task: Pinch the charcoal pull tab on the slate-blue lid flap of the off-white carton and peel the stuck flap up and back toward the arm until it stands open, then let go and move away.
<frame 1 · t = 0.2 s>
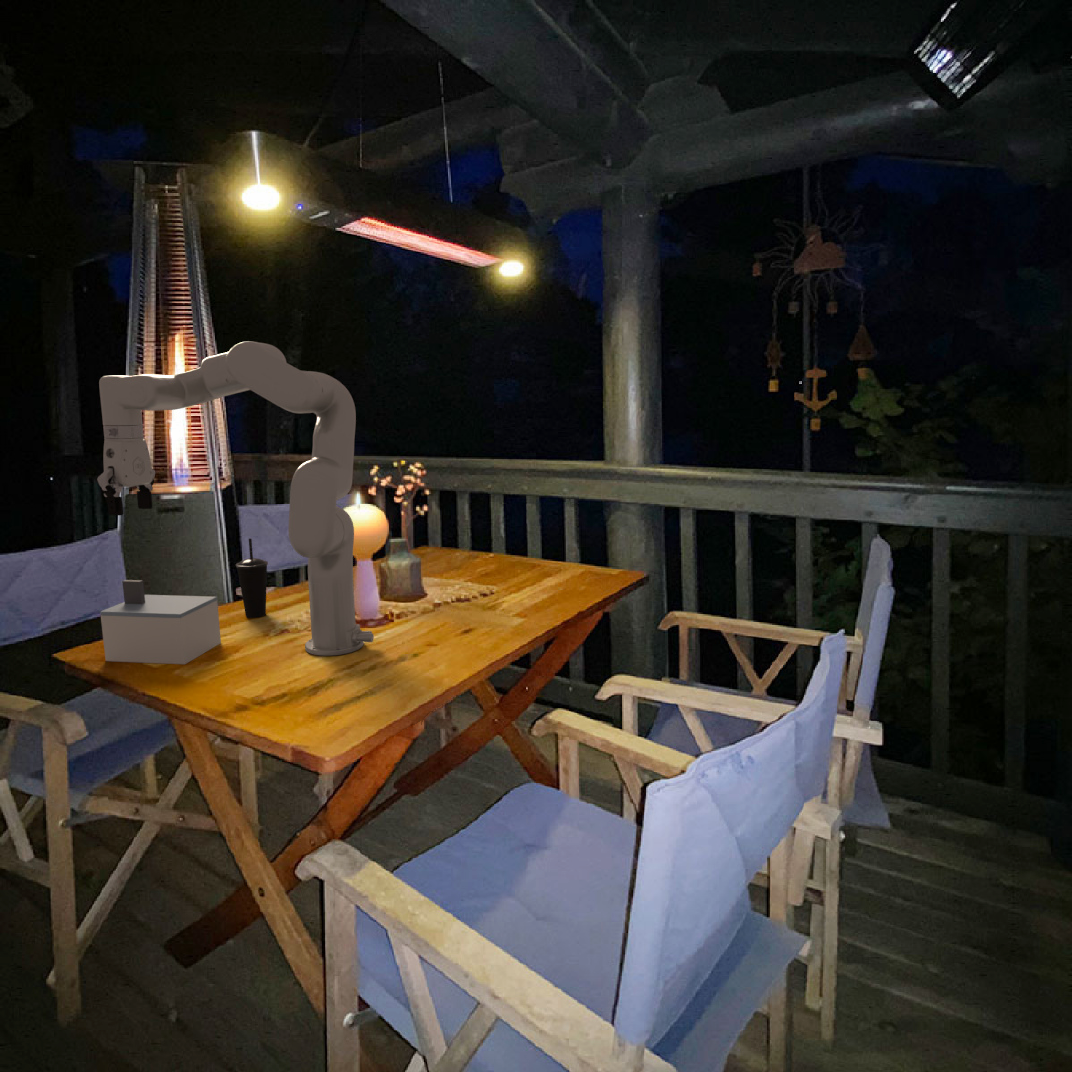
hand: (131, 511, 166), 30 cm above the table, tool pointing down, fingers open, 9 cm apart
drinking cup: (255, 616, 192), on the table
lid flap: (159, 594, 162), point 13 cm above the table, hinge at 0.0°
carton: (165, 651, 164), on the table
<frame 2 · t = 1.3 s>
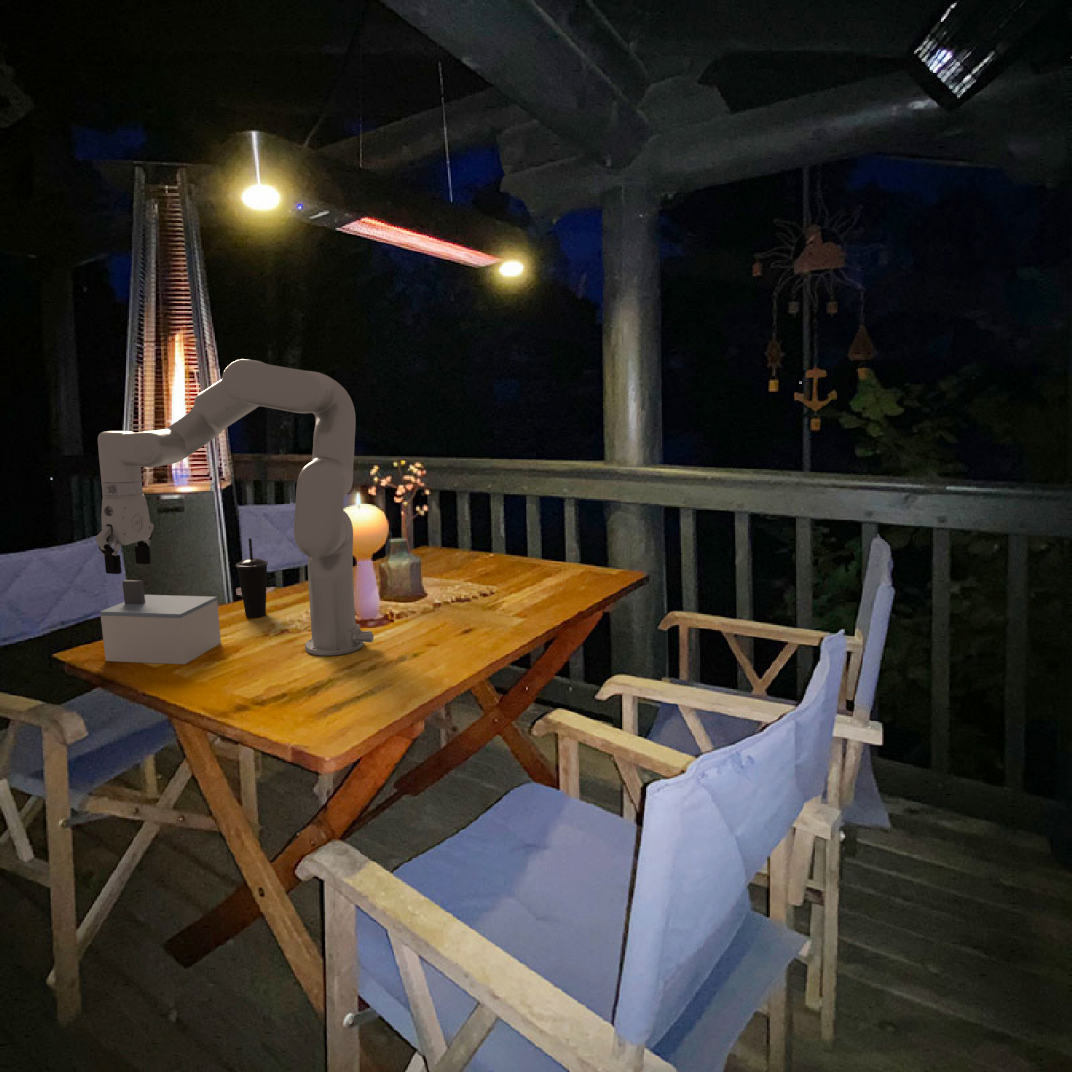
hand: (129, 568, 162), 19 cm above the table, tool pointing down, fingers open, 9 cm apart
nothing on the table moved.
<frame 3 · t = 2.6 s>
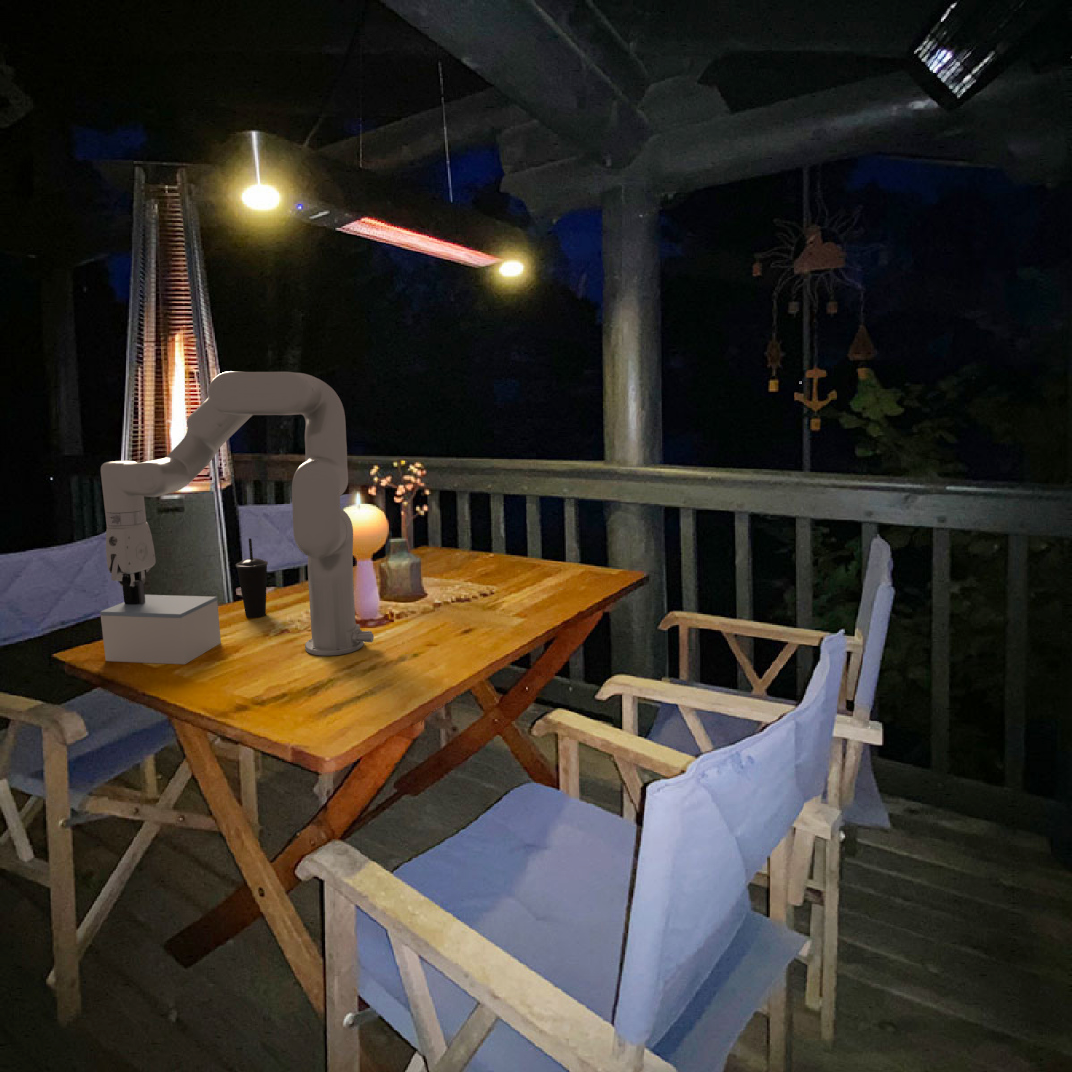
hand: (134, 601, 163), 11 cm above the table, tool pointing down, fingers closed
lid flap: (159, 594, 162), point 13 cm above the table, hinge at 0.0°, touching gripper
everything else where it was.
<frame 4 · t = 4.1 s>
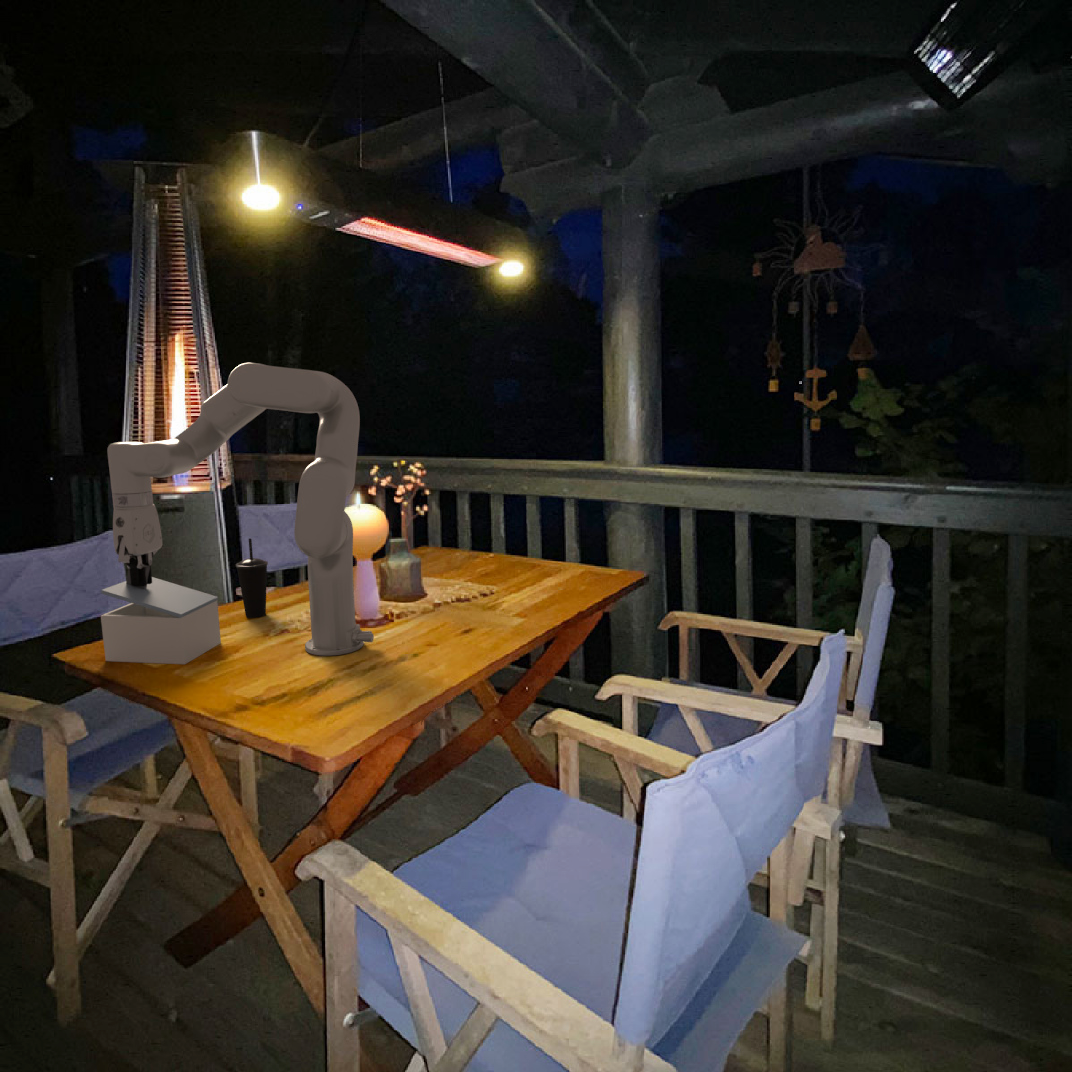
hand: (141, 584, 162), 15 cm above the table, tool pointing down, fingers closed
lid flap: (163, 584, 162), point 15 cm above the table, hinge at 15.3°, touching gripper
everything else where it was.
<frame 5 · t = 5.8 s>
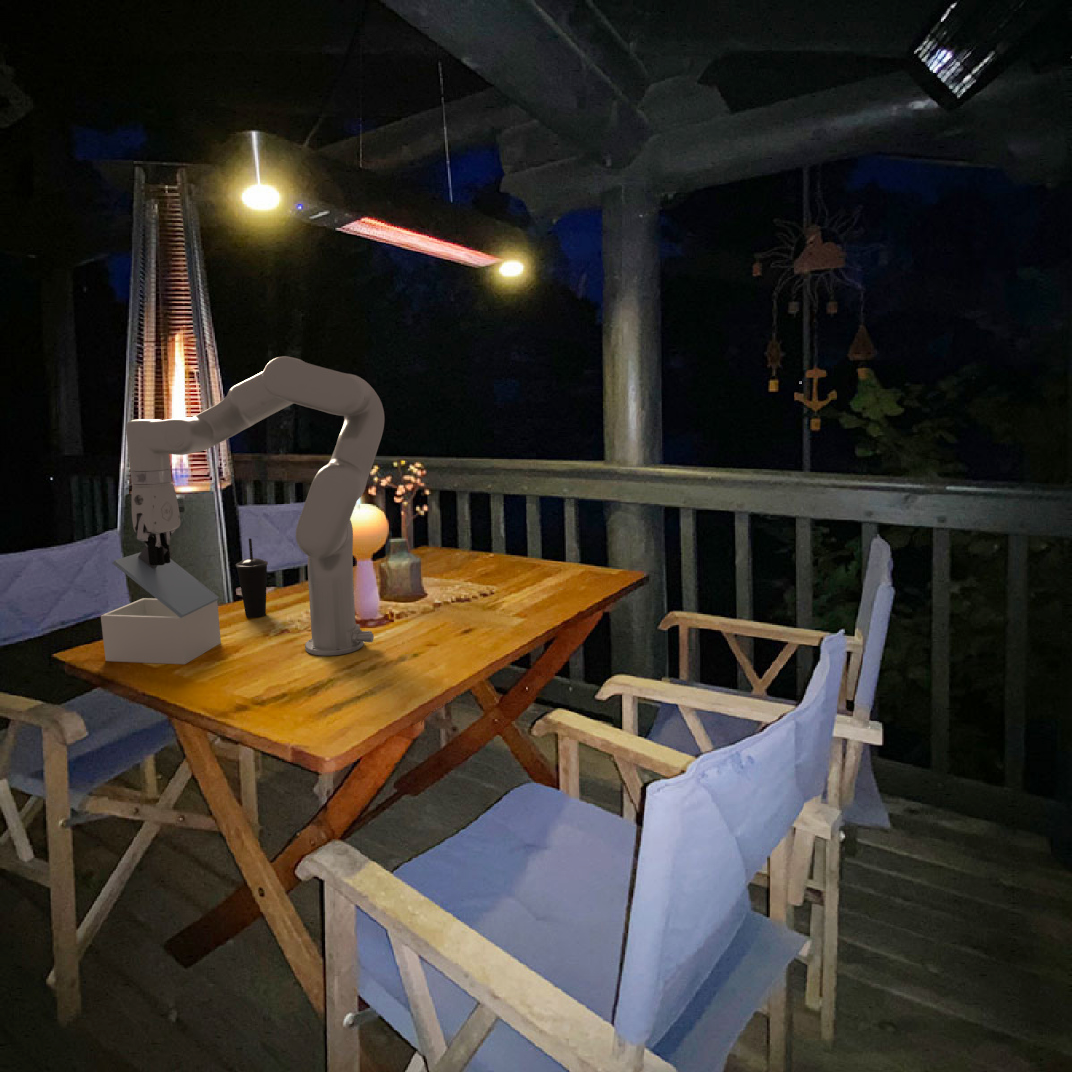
hand: (160, 563, 161), 20 cm above the table, tool pointing down, fingers closed
lid flap: (173, 572, 161), point 18 cm above the table, hinge at 38.7°, touching gripper
everything else where it was.
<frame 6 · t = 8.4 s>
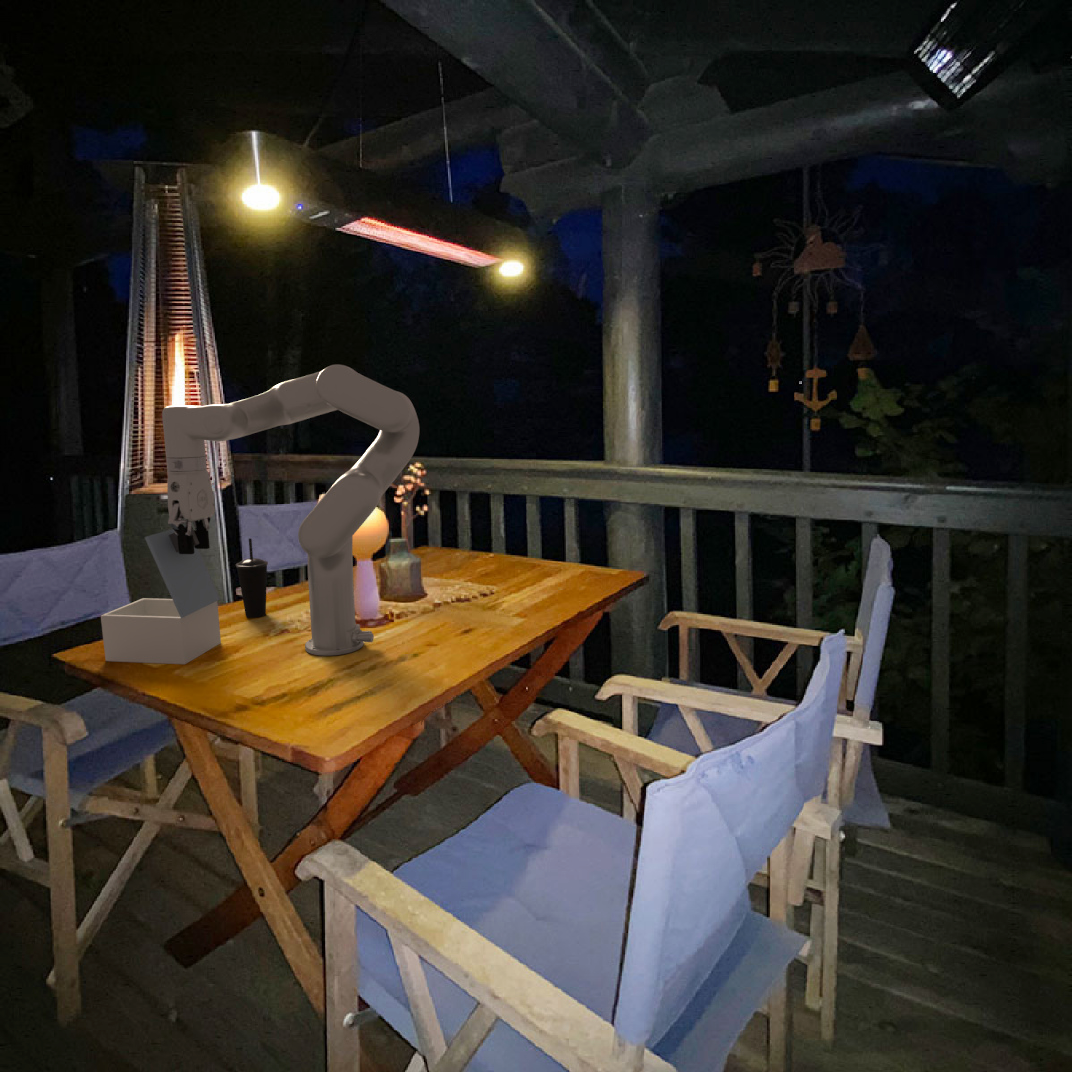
hand: (194, 550, 159), 23 cm above the table, tool pointing down, fingers open, 4 cm apart
lid flap: (194, 566, 160), point 19 cm above the table, hinge at 69.4°
everything else where it was.
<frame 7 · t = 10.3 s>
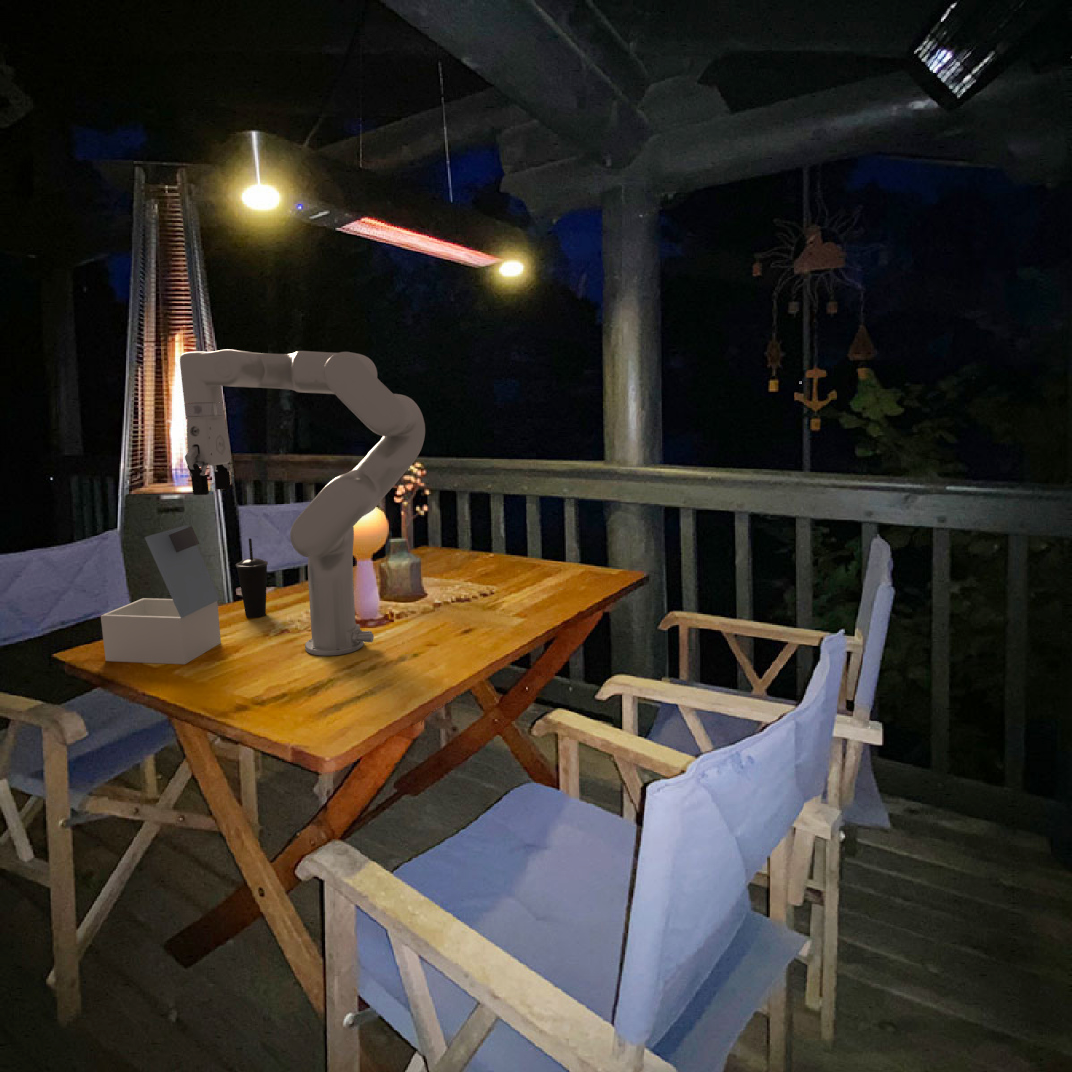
hand: (212, 491, 162), 35 cm above the table, tool pointing down, fingers open, 9 cm apart
nothing on the table moved.
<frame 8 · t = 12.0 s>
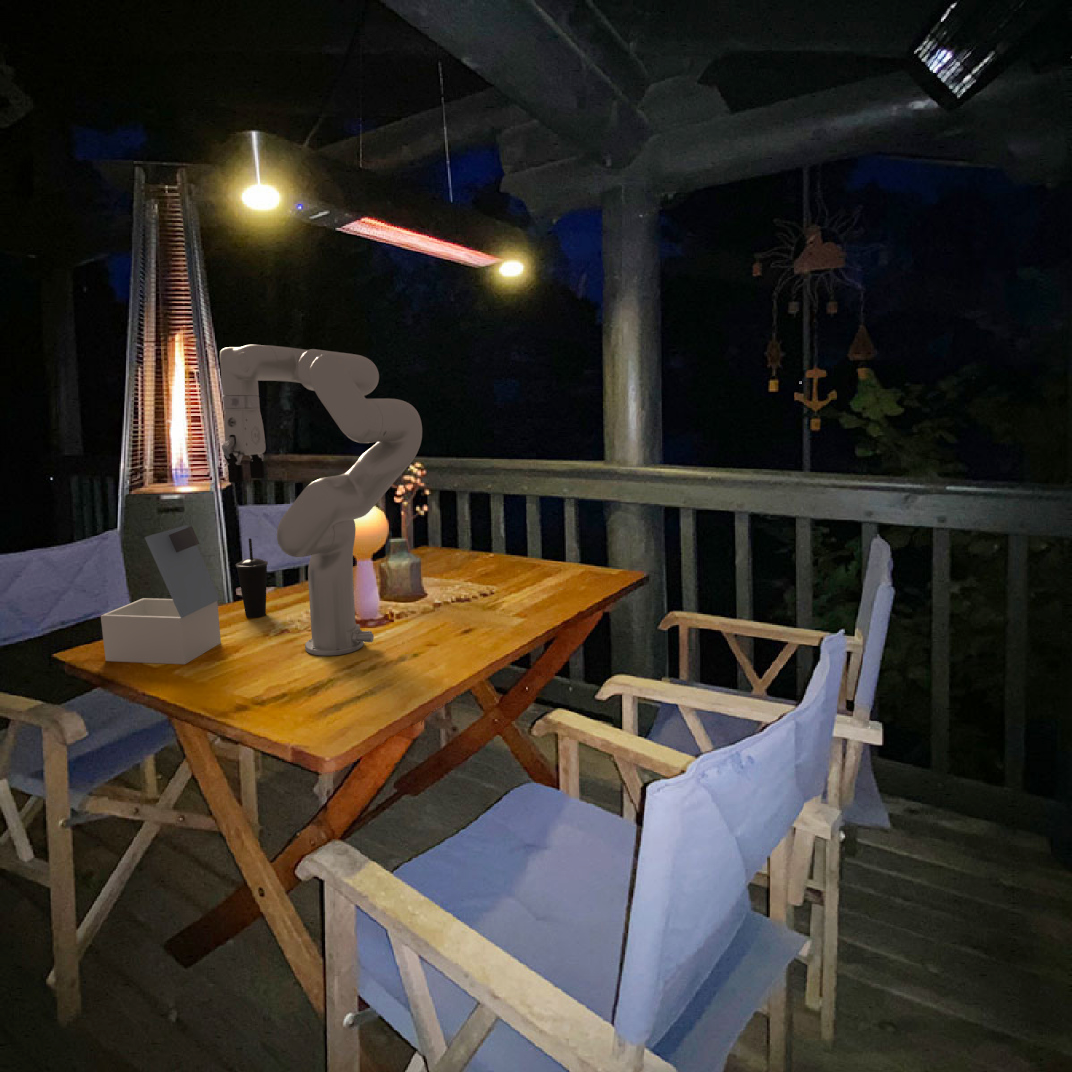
hand: (247, 480, 171), 36 cm above the table, tool pointing down, fingers open, 9 cm apart
nothing on the table moved.
at the end: lid flap at +69° (first picture: +0°) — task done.
